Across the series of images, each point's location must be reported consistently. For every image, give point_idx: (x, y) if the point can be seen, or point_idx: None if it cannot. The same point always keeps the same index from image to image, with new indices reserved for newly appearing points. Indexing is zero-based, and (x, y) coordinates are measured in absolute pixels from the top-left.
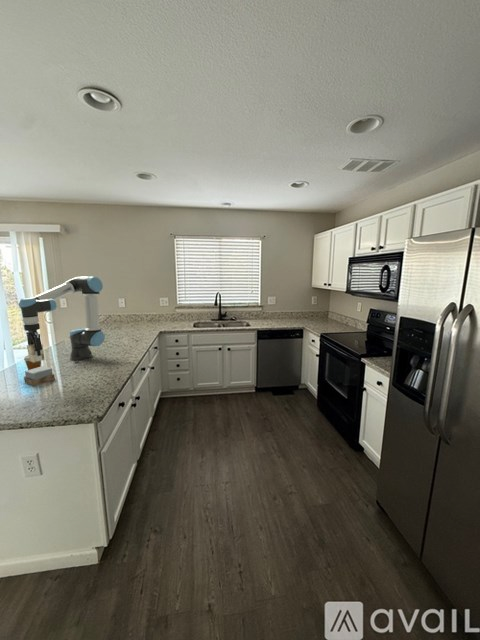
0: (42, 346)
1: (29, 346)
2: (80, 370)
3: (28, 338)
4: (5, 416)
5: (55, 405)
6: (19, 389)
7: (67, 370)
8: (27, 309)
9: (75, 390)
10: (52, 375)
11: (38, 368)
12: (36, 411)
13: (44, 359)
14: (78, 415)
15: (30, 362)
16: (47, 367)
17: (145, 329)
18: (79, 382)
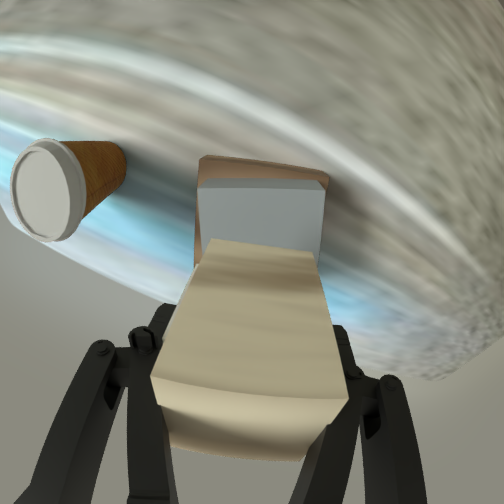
0: (340, 370)
1: (256, 457)
2: (322, 21)
3: (93, 484)
4: (416, 378)
5: (489, 308)
6: None
7: (240, 48)
8: None
9: (493, 226)
10: (326, 186)
11: (231, 232)
12: (466, 341)
13: (312, 255)
14: None
15: (84, 215)
16: (274, 192)
17: None
18: (465, 161)
